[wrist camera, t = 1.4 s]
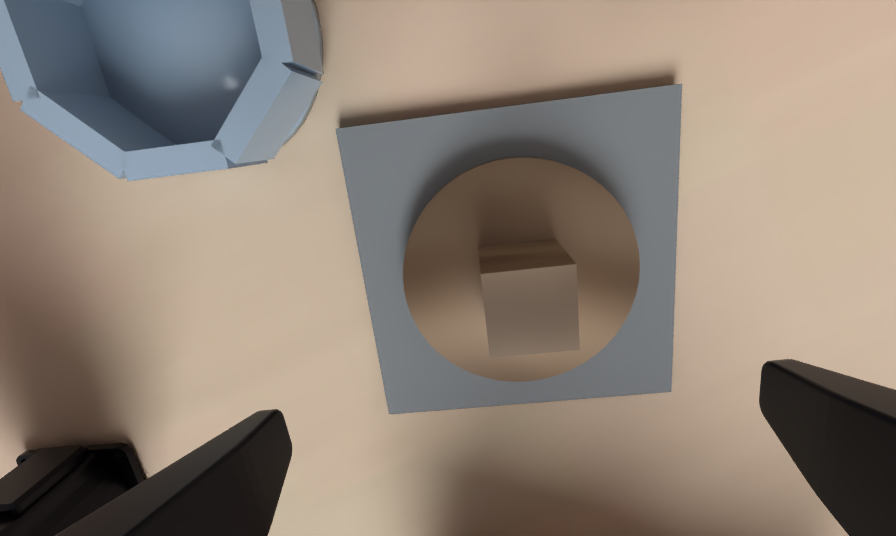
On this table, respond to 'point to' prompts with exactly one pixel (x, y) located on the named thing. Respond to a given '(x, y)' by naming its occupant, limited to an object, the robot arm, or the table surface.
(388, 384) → the mat
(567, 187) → the lid
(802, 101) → the table surface
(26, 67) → the bowl
